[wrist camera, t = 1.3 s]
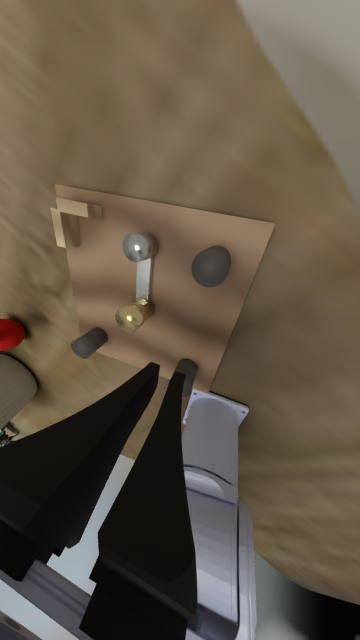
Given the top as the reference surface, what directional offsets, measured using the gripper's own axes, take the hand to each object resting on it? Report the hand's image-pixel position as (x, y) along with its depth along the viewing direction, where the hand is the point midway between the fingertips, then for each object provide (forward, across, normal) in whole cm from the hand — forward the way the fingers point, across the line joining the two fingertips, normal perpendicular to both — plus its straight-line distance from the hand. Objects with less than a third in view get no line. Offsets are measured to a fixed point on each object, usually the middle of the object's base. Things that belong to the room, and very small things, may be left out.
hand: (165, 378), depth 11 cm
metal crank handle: (+8, +6, -3) cm, 11 cm away
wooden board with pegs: (+10, +6, 0) cm, 12 cm away
